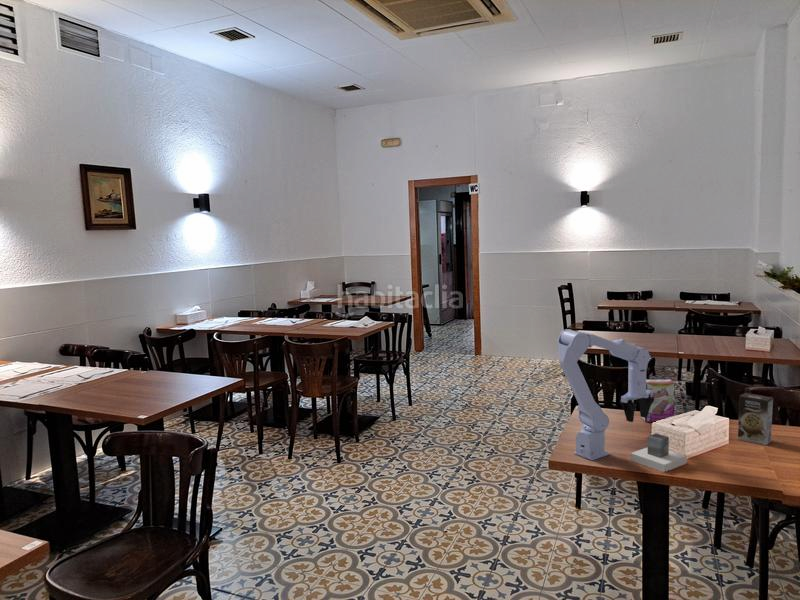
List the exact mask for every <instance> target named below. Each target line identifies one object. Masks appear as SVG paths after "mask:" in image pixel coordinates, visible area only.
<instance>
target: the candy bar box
mask: <svg viewBox="0 0 800 600" xmlns="http://www.w3.org/2000/svg"><path fill="white" fill-rule="evenodd" d="M675 388H676V381H673V380H672V379H646V390H652V391H653V396H651V397H653V398H654V401H653V403H652V405H651V407H650V409H649V412H648V416H647V418H644V417H641V420H643V422H645V423H655V422H654V421H657V420H661V419H665V418H667V417H669V416H673V415H674V416H675V400H676V399H675V396H676V394H675V393H676V389H675Z"/></svg>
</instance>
